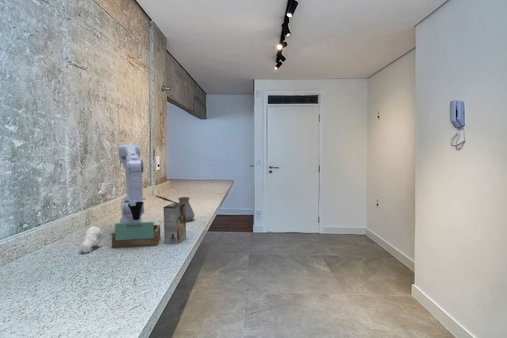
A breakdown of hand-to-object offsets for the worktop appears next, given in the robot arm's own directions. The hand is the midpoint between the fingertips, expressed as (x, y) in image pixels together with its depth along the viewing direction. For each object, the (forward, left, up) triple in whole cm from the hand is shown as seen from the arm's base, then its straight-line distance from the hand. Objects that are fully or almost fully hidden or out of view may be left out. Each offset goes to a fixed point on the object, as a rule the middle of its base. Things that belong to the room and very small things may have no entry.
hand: (136, 219), depth 136 cm
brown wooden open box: (-1, +1, -10) cm, 10 cm away
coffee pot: (-11, +40, -11) cm, 43 cm away
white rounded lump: (-11, -14, -11) cm, 21 cm away
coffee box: (+13, +10, -11) cm, 19 cm away
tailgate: (+3, -4, -7) cm, 9 cm away
